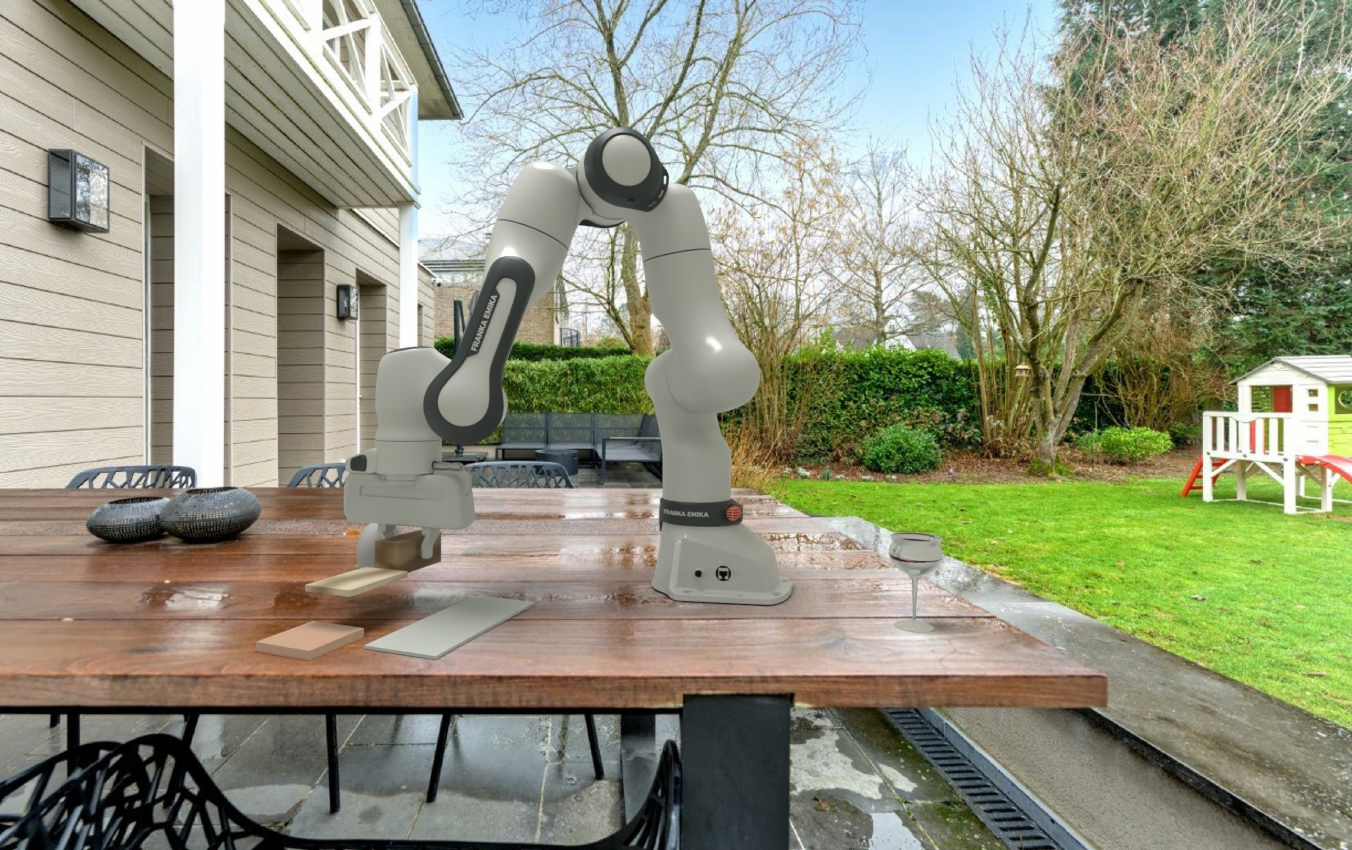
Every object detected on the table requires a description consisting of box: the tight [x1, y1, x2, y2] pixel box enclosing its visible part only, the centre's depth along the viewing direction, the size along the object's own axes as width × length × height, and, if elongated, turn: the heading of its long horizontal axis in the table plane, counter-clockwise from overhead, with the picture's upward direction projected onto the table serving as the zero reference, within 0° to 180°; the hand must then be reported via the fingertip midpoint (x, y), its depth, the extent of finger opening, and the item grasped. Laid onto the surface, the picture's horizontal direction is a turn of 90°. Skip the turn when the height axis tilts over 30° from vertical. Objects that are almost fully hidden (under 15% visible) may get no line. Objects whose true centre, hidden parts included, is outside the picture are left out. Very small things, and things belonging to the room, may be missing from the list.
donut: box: [355, 523, 403, 569], centre depth 108 cm, size 10×4×10 cm, turn 170°
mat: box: [363, 595, 536, 661], centre depth 86 cm, size 10×22×1 cm, turn 162°
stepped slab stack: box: [304, 529, 442, 598], centre depth 90 cm, size 7×19×4 cm, turn 162°
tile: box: [255, 620, 365, 662], centre depth 79 cm, size 8×2×8 cm
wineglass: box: [888, 531, 944, 633], centre depth 88 cm, size 7×7×12 cm
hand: (408, 556), depth 94 cm, fingers closed on stepped slab stack, 4 cm apart
